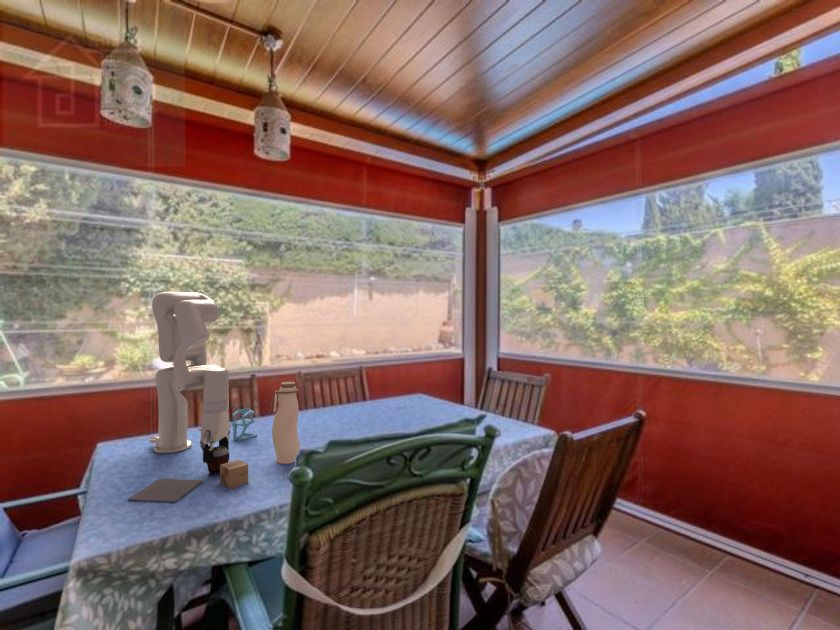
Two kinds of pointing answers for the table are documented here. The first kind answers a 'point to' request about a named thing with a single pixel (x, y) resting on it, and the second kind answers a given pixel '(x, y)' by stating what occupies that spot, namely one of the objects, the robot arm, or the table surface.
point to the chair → (243, 424)
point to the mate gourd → (218, 459)
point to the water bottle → (286, 423)
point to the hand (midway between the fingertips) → (216, 456)
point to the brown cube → (233, 474)
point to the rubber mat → (166, 490)
